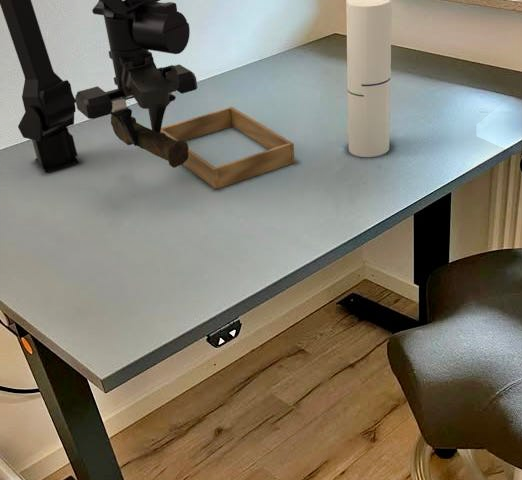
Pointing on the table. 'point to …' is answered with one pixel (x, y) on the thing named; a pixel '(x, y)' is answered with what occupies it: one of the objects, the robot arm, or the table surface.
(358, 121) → the cylindrical container
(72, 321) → the table surface
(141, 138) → the dark brown long piece
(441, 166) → the table surface
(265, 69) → the table surface
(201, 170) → the wooden rectangular frame
